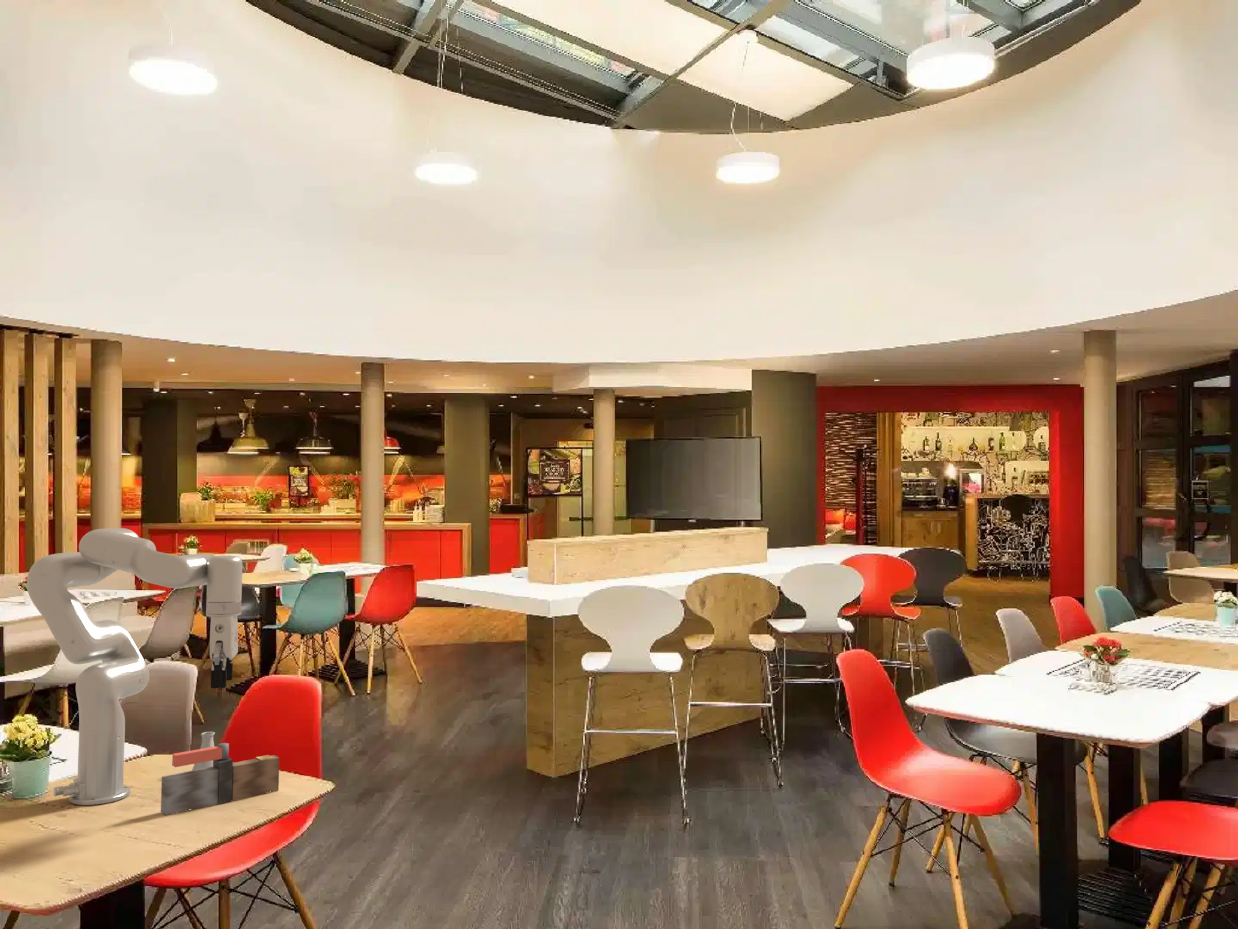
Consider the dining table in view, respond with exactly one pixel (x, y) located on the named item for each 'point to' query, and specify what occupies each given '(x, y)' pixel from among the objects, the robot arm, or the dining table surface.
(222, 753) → the swing bar
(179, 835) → the dining table surface
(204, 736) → the flask
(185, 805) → the two-tone wood plank
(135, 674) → the robot arm
